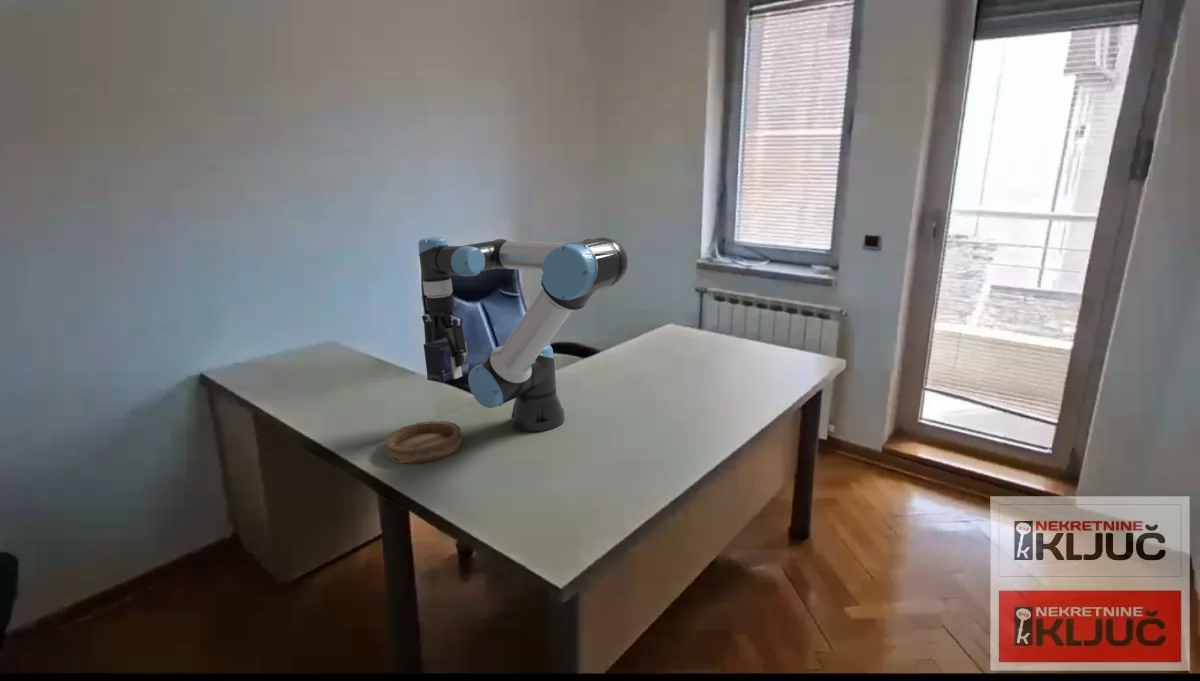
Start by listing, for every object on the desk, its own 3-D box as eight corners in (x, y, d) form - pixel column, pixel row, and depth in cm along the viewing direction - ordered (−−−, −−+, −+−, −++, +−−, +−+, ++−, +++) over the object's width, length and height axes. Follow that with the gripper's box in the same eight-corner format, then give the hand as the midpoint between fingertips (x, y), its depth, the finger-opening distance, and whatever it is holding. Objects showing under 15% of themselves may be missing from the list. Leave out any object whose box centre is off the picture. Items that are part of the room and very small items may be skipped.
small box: (442, 383, 168) (437, 346, 165) (426, 380, 171) (421, 344, 169) (471, 372, 176) (466, 337, 173) (455, 370, 180) (450, 335, 177)
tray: (476, 440, 166) (475, 427, 165) (423, 469, 151) (421, 456, 150) (427, 428, 176) (425, 417, 175) (372, 455, 161) (370, 442, 160)
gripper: (474, 294, 165) (483, 376, 171) (426, 290, 176) (435, 367, 182) (453, 300, 159) (463, 384, 165) (404, 295, 170) (415, 374, 176)
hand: (448, 375), depth 174 cm, fingers closed on small box, 6 cm apart
